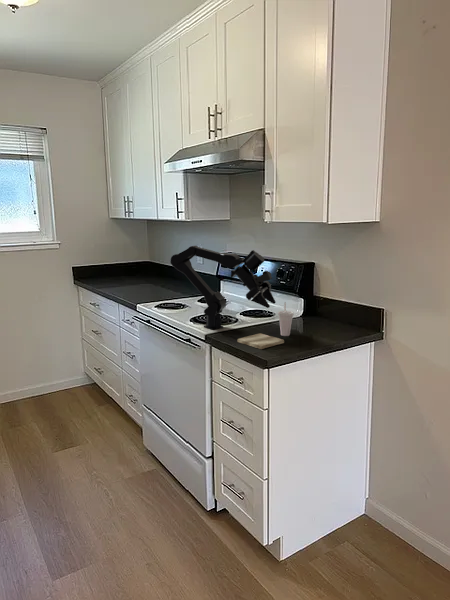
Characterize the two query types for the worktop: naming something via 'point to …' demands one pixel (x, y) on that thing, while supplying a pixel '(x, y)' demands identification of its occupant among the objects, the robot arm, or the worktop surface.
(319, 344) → the worktop surface
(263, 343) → the cutting board
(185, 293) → the worktop surface
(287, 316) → the smoothie
